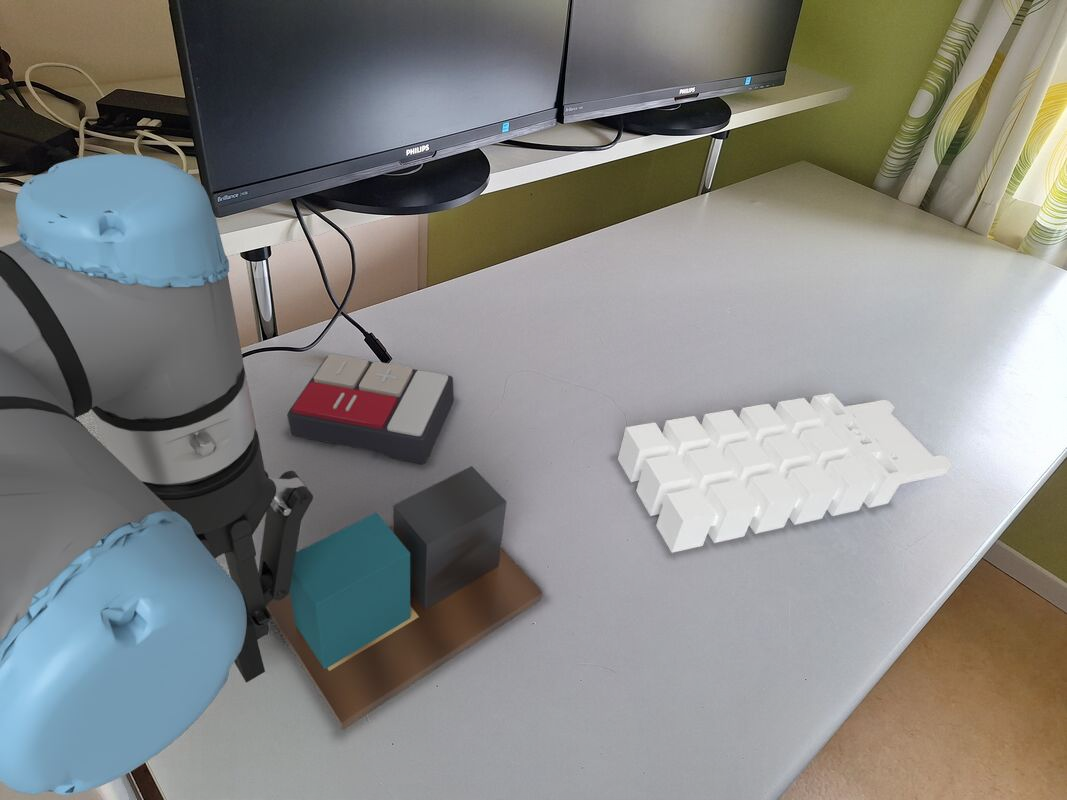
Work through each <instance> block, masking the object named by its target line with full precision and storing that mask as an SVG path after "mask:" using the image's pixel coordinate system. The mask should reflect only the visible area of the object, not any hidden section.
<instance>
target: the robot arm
mask: <svg viewBox="0 0 1067 800" xmlns="http://www.w3.org/2000/svg"><path fill="white" fill-rule="evenodd" d="M212 207H213V206H212V203H211V201H210V197H209V195H208V193H207V191H206V189H205V187H204V185H202V183H201V182H200V181H199V180H198V179H197V178H196V177H195V176H193V175H192V174H191V173H189V172H187V171H185V170H183V169H182V168H181V167H179V166H178V165H176V164H175V163H172V162H169V161H167V160H166V161H165V160H163V159H161V158H157V157H152V156H147V155H141V154H132V153H131V154H130V153H128V154H127V153H106V154H97V155H88V156H82V157H77V158H73V159H68V160H65V161H62V162H58V163H56V164H54V165H52V166H51V167H50V168H49V169H48V171H47V173H41V174H37V175H34V176H32V177H30V178H29V179H28V180H27V181H26V182H24V184H23V185H21V188H20V189H19V191H18V193H17V194H16V198H15V213H16V218H17V220H18V223H17V225H16V228H17V236H18V237H19V240H17V241H15V242H13V243H9V244H6V245H3V246H0V782H1V783H2V784H3V785H5V786H6V787H8V788H9V789H11V790H13V791H14V792H16V793H19V794H20V793H21V794H26V795H31V796H37V795H39V794H43V793H55V794H57V795H59V796H65V797H66V796H71V795H74V794H75V795H76V794H81V793H85V792H88V791H91V790H94V789H97V788H100V787H102V786H105V785H107V784H109V783H111V782H113V781H116V780H118V779H119V778H122V777H124V776H125V775H127V774H129V773H131V772H133V771H134V770H136V769H137V768H139V767H141V766H142V765H144V764H145V763H146V762H148V761H150V760H151V759H153V758H154V757H156V756H157V755H159V754H161V752H163V751H164V750H166V748H168V747H169V746H171V744H173V743H174V742H175V741H177V740H178V738H179V737H181V736H182V735H183V734H184V733H186V731H187V730H189V728H190V727H192V725H194V724H195V722H197V720H198V719H199V718H200V717H201V716H202V714H203V713H204V712H205V711H206V710H207V709H208V708H209V707H210V706H211V704H212V703H213V701H214V700H215V699H216V697H217V696H218V695H219V693H220V692H221V691H222V689H223V688H224V686H225V685H226V684H227V681H228V679H229V674H230V669H231V668H232V666H233V664H235V666H236V668H237V669H238V671H239V673H240V675H241V677H242V678H243V680H244V681H245V682H244V683H248V682H251V681H252V680H254V679H255V678H257V677H259V676H260V675H262V674H264V673H266V669H265V665H264V662H263V657H262V653H261V649H260V646H259V642H258V640H260V639H261V638H263V637H265V636H267V635H269V632H270V625H269V622H270V621H271V620H272V618H271V614H270V613H269V611H268V610H267V608H266V606H267V605H268V603H269V602H271V601H272V600H273V599H274V600H275V601H279V600H282V599H284V598H285V597H286V596H287V595H288V594H289V591H290V585H291V579H292V573H293V567H294V561H295V555H296V552H297V549H298V543H299V536H300V530H301V525H302V520H303V519H304V516H305V514H306V513H307V512H308V510H309V507H310V505H311V504H312V502H313V500H314V495H313V493H312V492H311V491H310V489H309V488H308V487H307V485H306V484H305V482H304V481H303V480H302V478H301V477H300V476H298V473H296V472H295V471H294V470H287V471H284V472H283V473H282V474H281V475H280V477H279V478H270V477H269V473H268V472H267V471H266V469H265V465H264V458H263V454H262V449H261V442H260V438H259V433H258V431H257V429H256V426H257V425H256V419H255V414H254V408H253V403H252V399H251V398H252V397H251V394H250V388H249V383H248V379H247V373H246V369H245V363H244V358H243V357H244V356H243V352H242V347H241V341H240V336H239V330H238V323H237V320H236V319H237V318H236V312H235V308H234V302H233V297H232V296H233V295H232V291H231V286H230V284H231V283H230V278H229V272H230V261H229V259H228V257H227V255H226V252H225V249H224V245H223V242H222V238H221V235H220V230H219V225H218V222H217V221H218V220H217V218H216V215H215V214H214V211H213V208H212ZM89 412H91V414H92V416H93V419H94V422H95V425H96V426H97V430H98V433H99V436H100V439H101V441H102V442H101V441H100V440H98V438H96V436H94V435H93V434H92V433H91V432H90V431H89V430H88V428H86V426H85V425H84V424H82V422H81V421H80V420H78V419H77V418H78V417H80V416H83V415H85V414H87V413H89ZM264 517H265V519H264V527H263V534H262V542H261V550H260V557H259V565H257V561H256V557H257V551H256V547H255V543H254V538H253V535H254V533H255V532H256V530H257V528H258V527H259V526H260V523H261V522H262V520H263V518H264ZM222 555H224V557H225V560H226V565H227V568H228V572H229V573H228V572H227V571H226V570H225V569H224V568H223V566H221V564H220V563H219V562H218V561H217V558H218V557H220V556H222Z"/></svg>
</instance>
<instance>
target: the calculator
mask: <svg viewBox="0 0 1067 800" xmlns="http://www.w3.org/2000/svg"><path fill="white" fill-rule="evenodd" d="M453 403H454V377H453V376H452V375H448V374H444V373H437V372H431V371H426V370H419V369H413V367H410V366H405V365H399V364H394V363H387V362H381V361H369V360H368V359H363V358H359V357H352V356H348V355H347V356H346V355H342V354H335V353H329V355H327V356H325V358H324V360H323V362H322V363H321V364H320V366H319V367H318V369H317V370H316V371H315V372H314V374H313V376H312V377H311V379H310V380H309V381H308V383H307V384H306V385H305V387H304V389H303V390H302V392H301V393H300V394H299V396H298V397H297V398H296V400H295V401H294V402H293V404H292V406H291V407H290V408H289V410H288V411H287V414H286V415H287V420H288V426H289V431H290V434H291V435H292V436H294V437H298V438H304V439H309V440H315V441H321V442H326V443H331V444H337V445H341V446H347V447H352V448H357V449H362V450H368V451H372V452H377V453H383V454H384V455H386V456H387V457H389V458H391V459H394V460H399V461H404V462H410V463H415V464H421V465H423V464H425V463H426V462H427V461H428V459H429V456H430V454H431V453H432V450H433V448H434V446H435V443H436V441H437V439H438V436H439V435H440V433H441V430H442V428H443V425H444V423H445V421H446V419H447V417H448V414H449V412H450V409H451V407H452V405H453Z"/></svg>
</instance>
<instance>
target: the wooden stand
mask: <svg viewBox="0 0 1067 800" xmlns="http://www.w3.org/2000/svg"><path fill="white" fill-rule="evenodd" d="M506 508H507V500H506V499H505V498H504V497H503V496H502V495H501V494H500V493H499V492H498V491H497V490H496V489H495V488H494V487H493V486H492V484H490V483H489V482H488V480H486V479H485V478H484V477H483V476H482V475H481V474H480V473H479V472H478V471H477V470H476V469H475V468H474V467H473V466H472V465H471V466H469V467H467V468H465V469H462V470H460V471H458V472H457V473H455V474H452V475H451V476H448V477H447V478H445V479H442V480H440V481H438V482H437V483H435V484H433V485H430V486H429V487H427V488H424V489H422V490H420V491H419V492H417V493H415V494H412V495H411V496H408V497H407V498H404V499H403V500H401V501H399V502H397V503H395V504H393V505H392V513H393V514H392V516H393V525H392V526H389V528H390V529H391V530H392V531H393V533H394V534H395V535H396V536H397V537H398V539H399V540H400V541H401V542H402V544H403V545H404V546H405V547H406V548H407V550H408V551H409V552H410V619H408V620H406V621H405V622H403V623H402V624H400V625H398V626H397V627H395V628H393V629H392V630H390V631H388V632H387V633H385V634H383V635H382V636H380V637H378V638H377V639H375V640H373V641H372V642H370V643H368V644H367V645H365V646H363V647H362V648H360V649H358V650H357V651H355V652H353V653H352V654H350V655H348V656H347V657H345V658H343V659H342V660H340V661H338V662H337V663H335V664H333V665H332V666H330V667H328V668H327V669H324V668H323V666H322V665H321V663H320V662H319V660H318V659H317V657H316V656H315V654H314V653H313V651H312V650H311V648H310V646H309V645H308V643H307V642H306V640H305V639H304V637H303V636H302V634H301V633H300V631H299V630H298V628H297V627H296V625H295V619H294V614H293V608H292V602H291V597H290V591H289V594H288V595H287V596H286V597H285V598H284V599H282V600H279V601H275V600H274V599H273V600H272V601H271V602H269V603H268V605H267V606H266V608H267V610H268V611H269V613H270V614H271V620H272V621H273V623H274V625H275V626H276V628H277V629H278V632H280V634H281V636H282V638H283V639H284V640H285V642H286V644H287V645H288V647H289V648H290V650H291V651H292V653H293V654H294V656H295V658H296V659H297V661H298V662H299V665H301V668H302V669H303V670H304V672H305V674H306V675H307V677H308V678H309V679H310V682H311V684H312V685H313V687H314V688H315V690H316V691H317V692H318V694H319V696H320V698H322V700H323V702H324V703H325V705H326V707H327V709H328V710H329V712H330V713H331V715H332V716H333V718H334V719H335V721H336V722H337V724H338V726H339V728H340V729H341V730H342V731H344V730H345V729H347V728H348V727H350V726H352V725H353V724H354V723H356V722H358V721H359V720H361V719H362V718H363V717H365V716H367V715H368V714H370V713H371V712H373V711H375V710H376V709H377V708H380V707H381V706H382V705H383V704H385V703H386V702H388V701H389V700H391V699H392V698H394V697H396V696H397V695H399V694H401V692H403V691H405V690H407V689H408V688H409V687H411V686H412V685H414V684H415V683H417V682H418V681H420V680H421V679H423V678H425V677H426V676H428V675H429V674H430V673H432V672H434V671H435V670H437V669H438V668H439V667H441V666H443V665H445V664H446V663H448V662H449V661H451V660H452V659H454V658H455V657H457V656H458V655H459V654H461V653H463V652H464V651H466V650H467V649H469V648H470V647H472V646H473V645H475V644H476V643H478V642H480V641H481V640H482V639H484V638H485V637H488V635H490V634H491V633H493V632H495V631H496V630H499V628H501V627H502V626H504V625H506V624H508V623H509V622H510V621H512V620H513V619H514V618H517V617H518V616H519V615H521V614H523V613H524V612H525V611H527V610H528V609H530V608H531V607H532V606H534V605H535V604H537V603H539V602H540V601H542V598H543V591H542V590H541V589H540V588H539V586H537V585H536V584H535V582H533V580H532V579H531V578H530V577H529V576H528V575H527V574H526V573H525V572H524V570H522V568H520V566H519V565H518V564H517V563H516V562H515V561H514V560H513V559H512V558H511V557H510V555H509V554H508V553H507V552H506V551H505V550H504V549H503V548H502V541H503V534H504V524H505V517H506Z"/></svg>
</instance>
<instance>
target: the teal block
mask: <svg viewBox="0 0 1067 800" xmlns="http://www.w3.org/2000/svg"><path fill="white" fill-rule="evenodd" d="M290 597H291V602H292V608H293V614H294V619H295V625H296V627H297V628H298V630H299V631H300V633H301V634H302V636H303V637H304V639H305V640H306V642H307V643H308V645H309V646H310V648H311V650H312V651H313V653H314V654H315V656H316V657H317V659H318V660H319V662H320V663H321V665H322V666H323V668H324V669H327V668H328V667H330V666H332V665H333V664H335V663H337V662H338V661H340V660H342V659H343V658H345V657H347V656H348V655H350V654H352V653H353V652H355V651H357V650H358V649H360V648H362V647H363V646H365V645H367V644H368V643H370V642H372V641H373V640H375V639H377V638H378V637H380V636H382V635H383V634H385V633H387V632H388V631H390V630H392V629H393V628H395V627H397V626H398V625H400V624H402V623H403V622H405V621H406V620H408V619H410V552H409V551H408V550H407V548H406V547H405V546H404V545H403V544H402V542H401V541H400V540H399V539H398V537H397V536H396V535H395V534H394V533H393V531H392V530H391V529H390V526H389V525H388V524H387V522H385V520H384V519H383V518H382V517H381V516H380V515H379V513H378V511H377V512H374V513H372V514H370V515H368V516H366V517H364V518H361V519H360V520H358V521H356V522H354V523H352V524H350V525H348V526H346V527H344V528H342V529H339V530H338V531H336V532H334V533H331V534H329V535H328V536H325V537H324V538H322V539H320V540H318V541H316V542H314V543H312V544H310V545H308V546H306V547H304V548H302V549H300V550H298V551H296V555H295V561H294V567H293V573H292V579H291V585H290Z"/></svg>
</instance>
